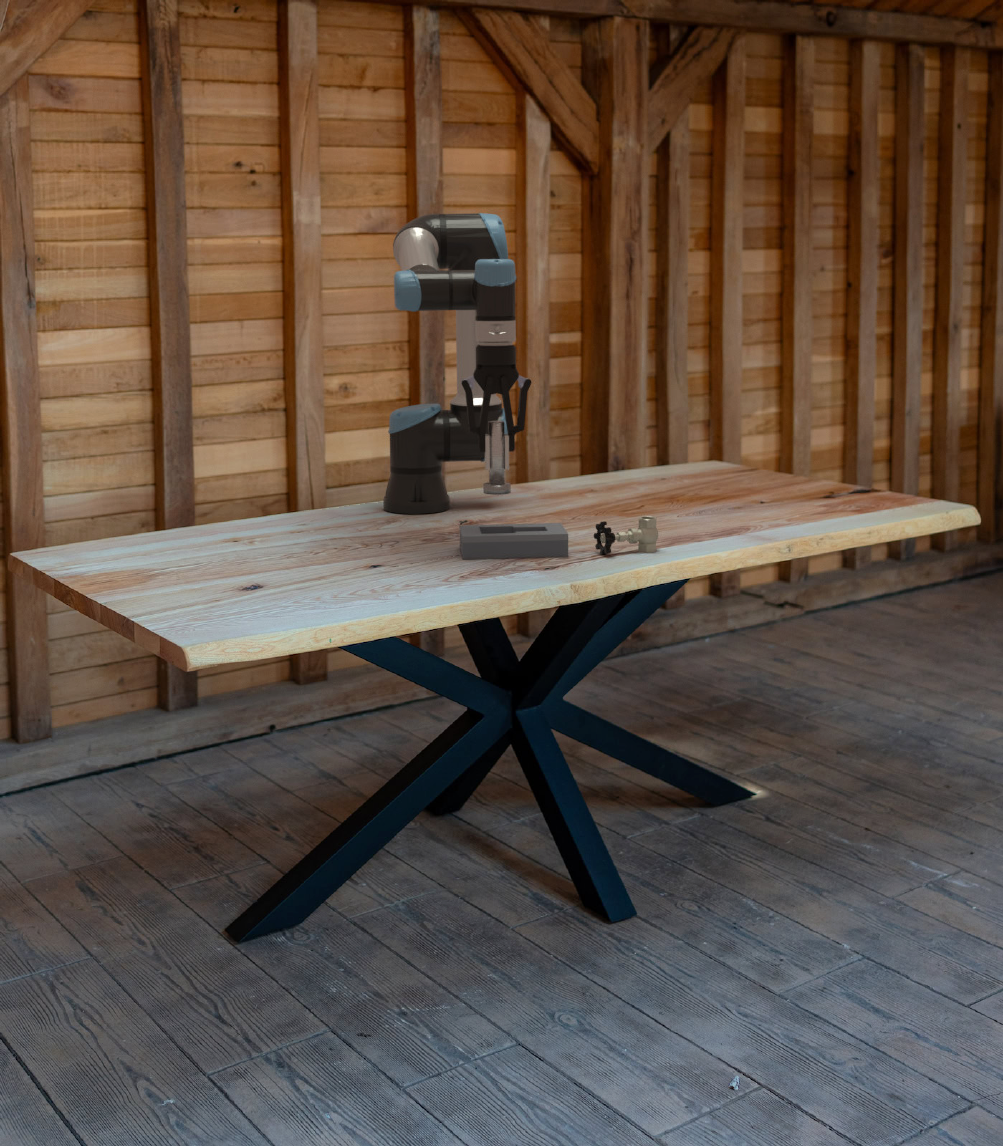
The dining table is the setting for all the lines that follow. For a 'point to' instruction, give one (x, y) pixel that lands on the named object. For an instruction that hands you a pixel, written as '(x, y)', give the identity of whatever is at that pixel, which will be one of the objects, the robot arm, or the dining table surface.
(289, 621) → the dining table surface
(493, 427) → the flanged metal peg
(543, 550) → the keyhole board
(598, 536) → the valve
